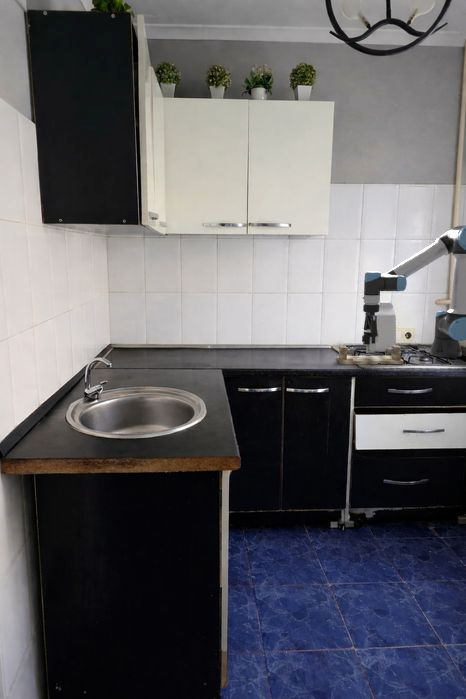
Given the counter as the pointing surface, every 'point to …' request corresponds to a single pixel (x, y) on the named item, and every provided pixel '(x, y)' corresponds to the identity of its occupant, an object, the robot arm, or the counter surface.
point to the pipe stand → (370, 359)
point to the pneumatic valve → (368, 340)
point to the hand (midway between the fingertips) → (369, 347)
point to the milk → (386, 326)
